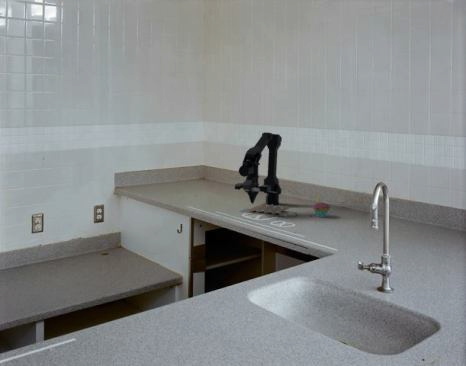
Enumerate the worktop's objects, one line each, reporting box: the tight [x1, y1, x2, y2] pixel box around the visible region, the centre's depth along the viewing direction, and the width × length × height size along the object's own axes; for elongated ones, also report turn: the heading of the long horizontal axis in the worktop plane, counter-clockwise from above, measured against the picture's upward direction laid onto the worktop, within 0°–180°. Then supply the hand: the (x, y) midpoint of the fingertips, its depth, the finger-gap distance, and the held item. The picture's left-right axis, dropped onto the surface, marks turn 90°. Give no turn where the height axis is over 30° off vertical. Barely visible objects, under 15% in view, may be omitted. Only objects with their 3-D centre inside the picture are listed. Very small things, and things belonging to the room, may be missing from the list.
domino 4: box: [271, 205, 290, 214], centre depth 286 cm, size 2×5×8 cm
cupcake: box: [312, 194, 331, 218], centre depth 284 cm, size 9×8×12 cm
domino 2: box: [256, 204, 275, 213], centre depth 290 cm, size 2×5×8 cm
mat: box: [239, 208, 285, 218], centre depth 291 cm, size 25×9×1 cm, turn 64°
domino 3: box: [264, 204, 282, 214], centre depth 288 cm, size 2×5×8 cm
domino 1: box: [248, 202, 267, 212], centre depth 292 cm, size 2×5×8 cm
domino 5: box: [279, 210, 298, 218], centre depth 285 cm, size 2×5×8 cm
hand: (252, 203), depth 293 cm, fingers closed
